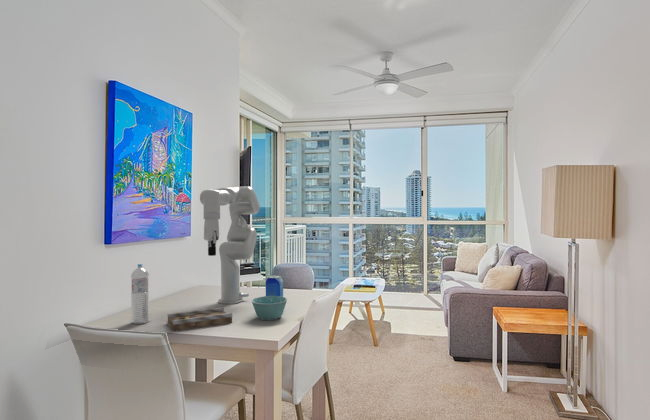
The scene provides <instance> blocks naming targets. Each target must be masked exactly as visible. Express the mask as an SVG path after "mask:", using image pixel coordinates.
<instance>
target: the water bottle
mask: <svg viewBox="0 0 650 420" xmlns="http://www.w3.org/2000/svg"><path fill="white" fill-rule="evenodd" d="M130 277H131V278H130V279H131V293H130V294H131V297H130V298H131V302H130V303H131V304H130V305H131V306H130V309H131V311H130V312H131V317H130V318H131V319H130V320H131V324H133V325H144V324H148V322H149V318H150V317H149V316H150V313H149V311H150V310H149V308H150V306H149V304H150V303H149V299H150V298H149V295H150V294H149V277H150V275H149V273H148V271H147V270H146V269H145V268H143V264H141V263H140V264H137V268H136V269H135V270H133V271H132V272H131V275H130Z"/></svg>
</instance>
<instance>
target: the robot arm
mask: <svg viewBox="0 0 650 420" xmlns="http://www.w3.org/2000/svg"><path fill="white" fill-rule="evenodd" d="M199 201H200V203H201V205H203V220H204V224H203V240H204V241H207V255H208V256H210V257H213V256H217V241H219V239H220V226H219V225H220V223H219V220H221V206H226V205H229V207H228V208H229V216H230V220H231V223H230V226H229V229H228V232H227V236H226V241H224V242H222V243H220V245H219V247H218V253H219V257H220V258H219V259H220V285H221V286H220V298H219V299H218V300H217V301H218V304H222V305H234V304H235V305H236V304H239V303H240V304H241V303H242V302H243V301H244V300H243V298H244V297H245V298H248V297H249V295H250V294H249V293H248V292H241V291H240V287H241V284H240V280H241V279H240V272H241V271H240V270H241V269H240V266H239V263H238V262H237V261H246V260H250V259H251V258H253V257H252V256H253V254H254V251H255V247H256V244H257V240H258V239H257V238H258V233H257V230H256V229H255V228H254V227H251V226H248V223H247V221H246V219H245V217H243V216H242V215H257V214H258V213H259V212H260V207H261V206H260V202H259V200H258V196H257V194H256V191H255V190H254V189H253V187H251V186H249V185H248V186H230V187H221V188H219V187H218V188H214V189H211V188H210V189H204V190H202V191H201V192H200V195H199Z"/></svg>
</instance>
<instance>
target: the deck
mask: <svg viewBox="0 0 650 420" xmlns="http://www.w3.org/2000/svg"><path fill="white" fill-rule="evenodd" d="M186 317H189V318H187V319H185V318H186ZM230 323H233V312H228V313H227V312H226V311H225V309H224V307H223V306H221V307H216V308H215V307H214V308H213V307H212V308H207V309H198V310H188V311H182V312H173V313H167V325H168V326H169V327H170V328H171V330H172V331H173V332H175V331H176V330H177V331H182V329H184V330H189V328H191V329H196V328H195V327H198V328H203V326H205V327H210V326H211V325H212V326H217V325H224V324H225V325H226V324H230Z"/></svg>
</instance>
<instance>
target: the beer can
mask: <svg viewBox="0 0 650 420" xmlns="http://www.w3.org/2000/svg"><path fill="white" fill-rule="evenodd" d="M265 296H281V297H284V280H283V278H282V275H268V276H267V278H266V280H265Z"/></svg>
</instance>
